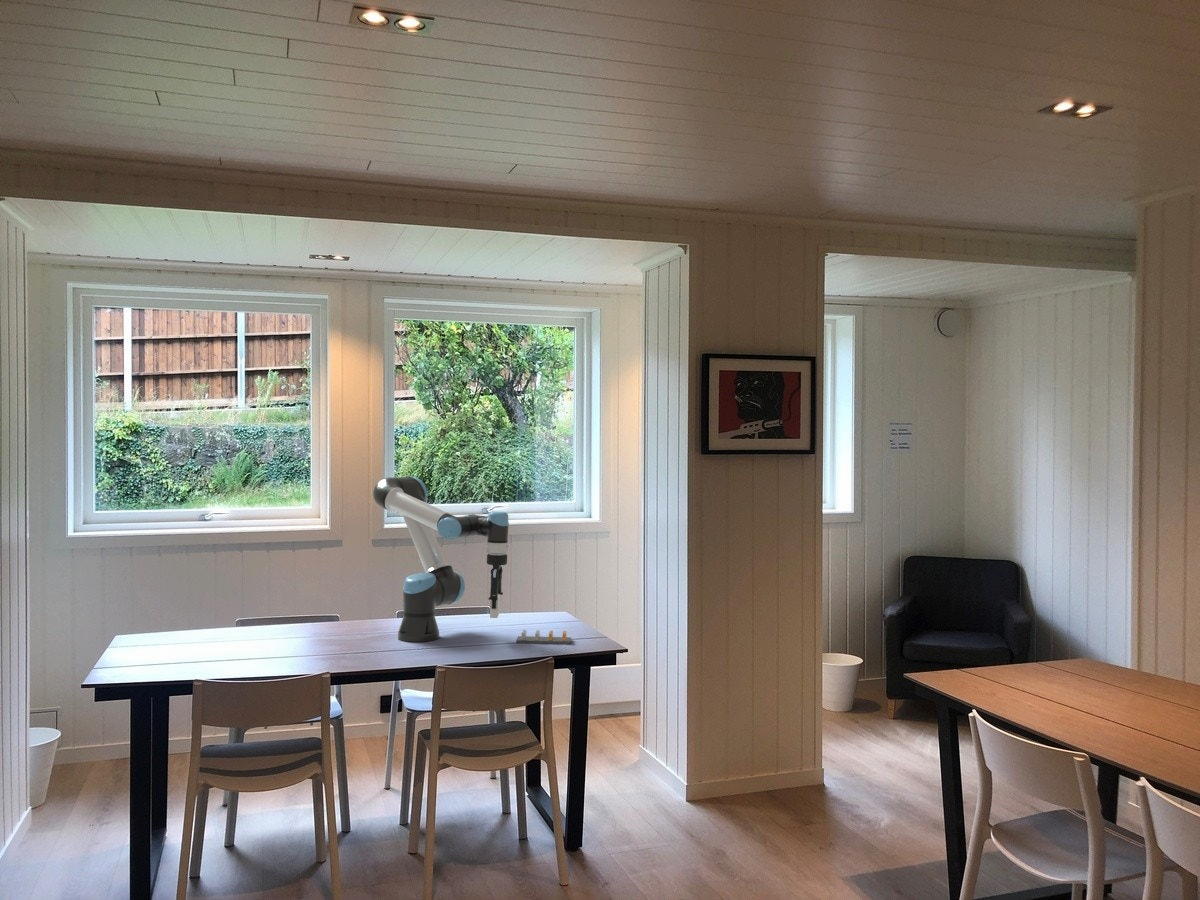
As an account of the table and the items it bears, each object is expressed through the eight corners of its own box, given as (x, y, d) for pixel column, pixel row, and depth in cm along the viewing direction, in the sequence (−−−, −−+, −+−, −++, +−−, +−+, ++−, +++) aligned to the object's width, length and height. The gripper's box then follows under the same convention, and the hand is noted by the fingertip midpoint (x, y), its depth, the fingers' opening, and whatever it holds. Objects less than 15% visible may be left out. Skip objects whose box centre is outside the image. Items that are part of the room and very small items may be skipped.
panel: (490, 617, 344) (490, 597, 344) (492, 613, 352) (493, 593, 352) (496, 618, 344) (497, 597, 344) (499, 613, 352) (500, 593, 352)
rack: (516, 643, 345) (516, 633, 345) (518, 638, 352) (518, 629, 352) (570, 644, 344) (571, 634, 344) (571, 640, 351) (571, 630, 351)
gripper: (504, 558, 337) (502, 621, 338) (510, 550, 358) (508, 609, 359) (483, 557, 337) (481, 620, 338) (490, 549, 358) (488, 609, 359)
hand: (495, 614), depth 348 cm, fingers closed on panel, 8 cm apart
